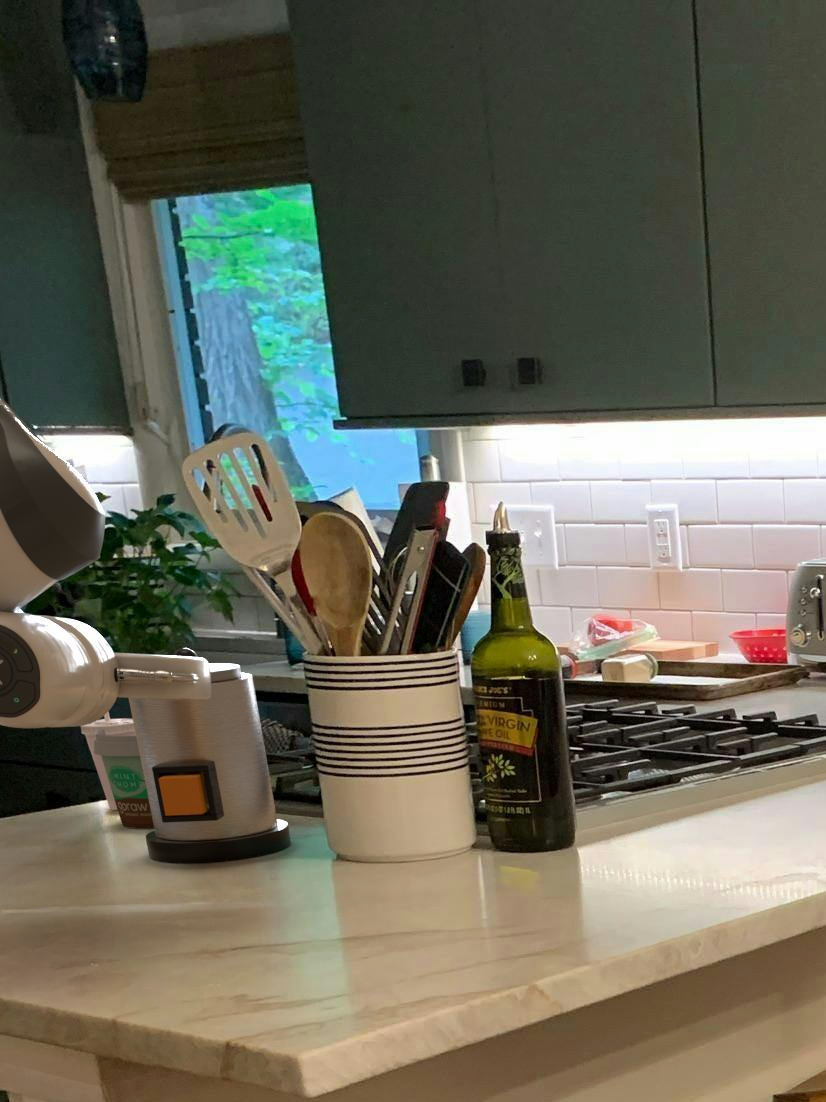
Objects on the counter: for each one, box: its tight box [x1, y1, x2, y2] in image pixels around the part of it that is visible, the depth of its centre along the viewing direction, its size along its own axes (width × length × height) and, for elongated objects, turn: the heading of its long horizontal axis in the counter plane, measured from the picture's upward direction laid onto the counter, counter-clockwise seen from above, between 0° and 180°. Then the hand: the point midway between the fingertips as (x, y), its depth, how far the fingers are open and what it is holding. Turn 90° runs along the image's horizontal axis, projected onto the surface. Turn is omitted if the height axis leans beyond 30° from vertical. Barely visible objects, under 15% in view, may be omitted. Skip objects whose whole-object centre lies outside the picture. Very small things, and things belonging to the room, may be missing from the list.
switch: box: [159, 774, 208, 816], centre depth 190 cm, size 2×4×4 cm, turn 94°
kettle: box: [128, 647, 292, 864], centre depth 197 cm, size 18×14×20 cm
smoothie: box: [80, 711, 136, 811], centre depth 223 cm, size 6×6×14 cm
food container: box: [94, 729, 154, 830], centre depth 213 cm, size 12×6×10 cm, turn 80°
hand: (111, 674), depth 175 cm, fingers closed
